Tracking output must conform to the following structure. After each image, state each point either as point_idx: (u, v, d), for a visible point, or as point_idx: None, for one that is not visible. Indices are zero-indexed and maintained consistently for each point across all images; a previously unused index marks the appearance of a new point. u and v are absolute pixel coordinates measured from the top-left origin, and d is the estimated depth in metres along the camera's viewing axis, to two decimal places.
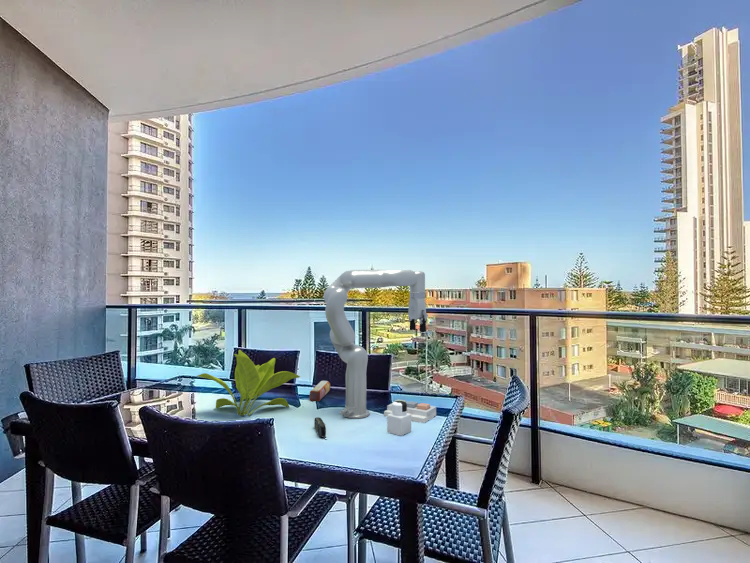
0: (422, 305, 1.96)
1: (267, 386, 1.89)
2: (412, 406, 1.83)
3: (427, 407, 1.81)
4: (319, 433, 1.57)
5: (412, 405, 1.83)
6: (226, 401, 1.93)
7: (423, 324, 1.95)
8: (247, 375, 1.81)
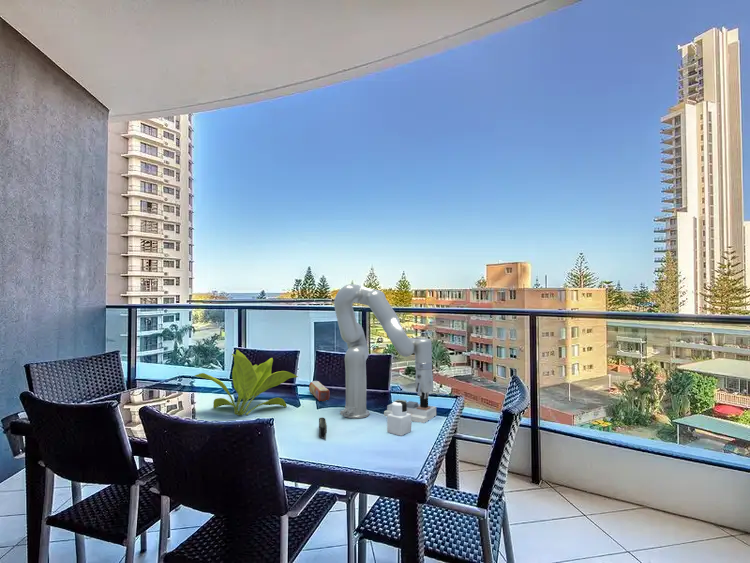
0: None
1: (265, 386, 1.89)
2: (412, 406, 1.83)
3: (427, 409, 1.81)
4: (319, 433, 1.57)
5: (412, 405, 1.83)
6: (224, 401, 1.93)
7: None
8: (245, 375, 1.81)
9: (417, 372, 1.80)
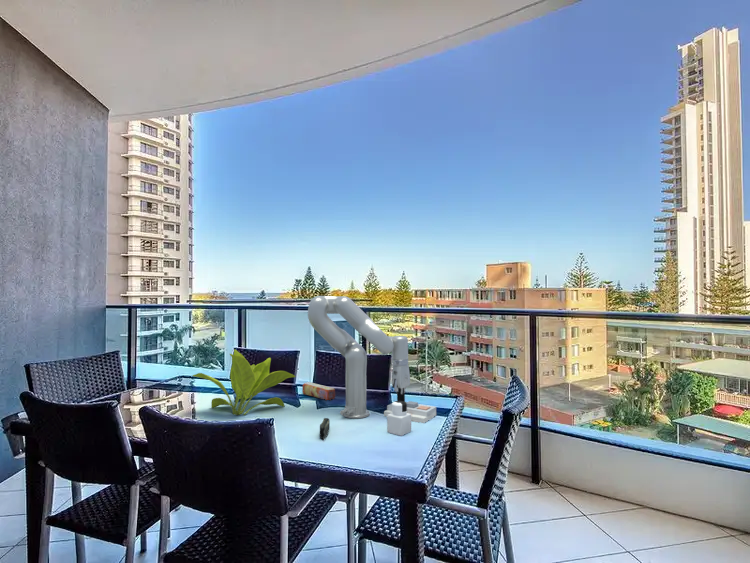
0: None
1: (262, 386, 1.89)
2: (412, 406, 1.83)
3: None
4: None
5: (412, 405, 1.83)
6: (222, 401, 1.94)
7: None
8: (242, 375, 1.81)
9: (393, 368, 1.86)
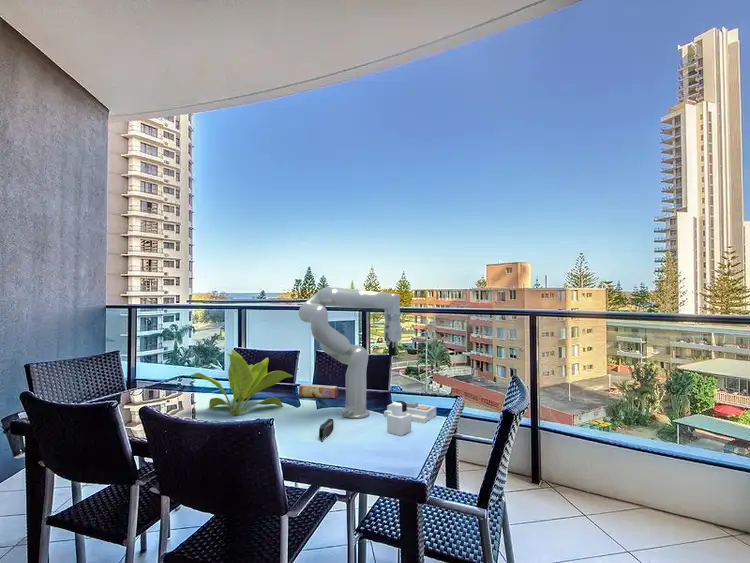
0: None
1: (260, 385, 1.90)
2: (412, 406, 1.83)
3: None
4: None
5: (412, 405, 1.83)
6: (219, 400, 1.94)
7: None
8: (240, 374, 1.82)
9: (386, 323, 1.97)
